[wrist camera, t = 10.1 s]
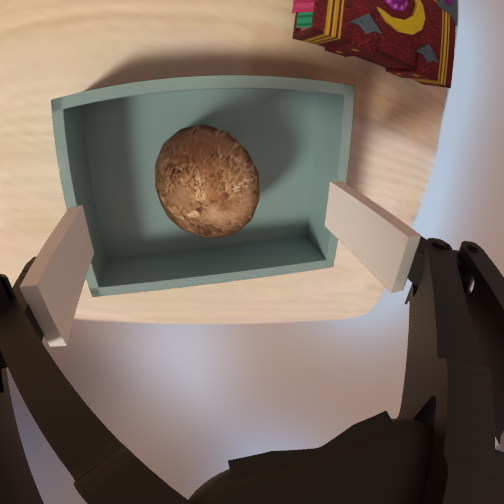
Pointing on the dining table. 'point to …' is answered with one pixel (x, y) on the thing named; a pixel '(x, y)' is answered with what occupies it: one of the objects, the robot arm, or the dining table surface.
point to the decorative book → (385, 34)
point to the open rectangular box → (143, 176)
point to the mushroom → (206, 182)
